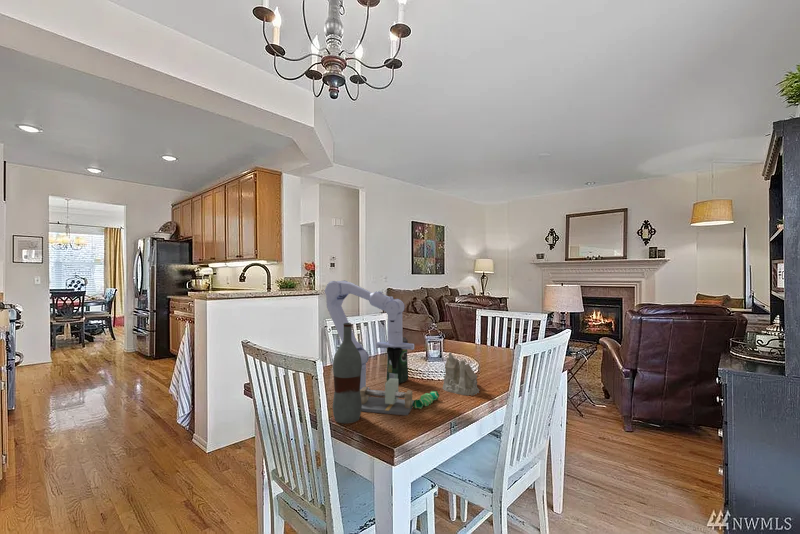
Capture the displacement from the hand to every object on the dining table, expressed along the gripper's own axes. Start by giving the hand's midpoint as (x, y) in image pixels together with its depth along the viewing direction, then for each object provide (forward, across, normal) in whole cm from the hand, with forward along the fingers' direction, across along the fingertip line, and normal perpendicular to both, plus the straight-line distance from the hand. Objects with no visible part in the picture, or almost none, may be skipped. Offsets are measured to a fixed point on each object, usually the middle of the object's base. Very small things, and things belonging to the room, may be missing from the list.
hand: (394, 368), depth 142 cm
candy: (+11, +13, -6) cm, 18 cm away
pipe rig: (+10, 0, -12) cm, 16 cm away
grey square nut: (+8, +2, -12) cm, 15 cm away
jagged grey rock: (+11, +24, +16) cm, 31 cm away
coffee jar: (+11, -4, +19) cm, 22 cm away
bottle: (+11, -9, -25) cm, 29 cm away
